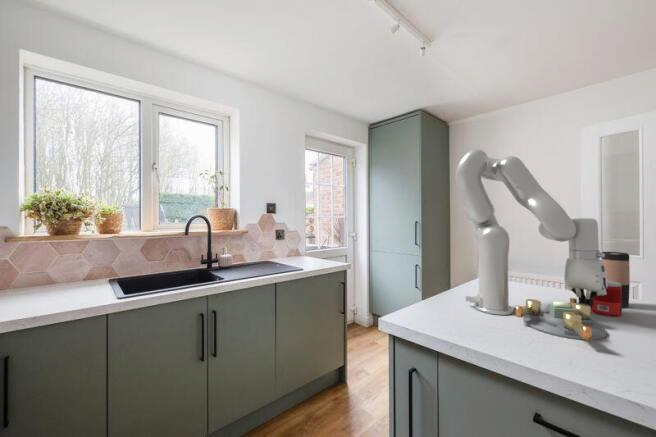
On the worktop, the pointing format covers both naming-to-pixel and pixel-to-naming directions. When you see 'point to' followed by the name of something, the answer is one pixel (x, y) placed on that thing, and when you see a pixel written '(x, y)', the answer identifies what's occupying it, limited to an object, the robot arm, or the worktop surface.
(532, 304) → the knob
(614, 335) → the worktop surface
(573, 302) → the knob
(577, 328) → the knob
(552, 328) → the tribrach
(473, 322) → the worktop surface
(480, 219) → the robot arm
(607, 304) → the canned food
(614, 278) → the travel mug
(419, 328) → the worktop surface
